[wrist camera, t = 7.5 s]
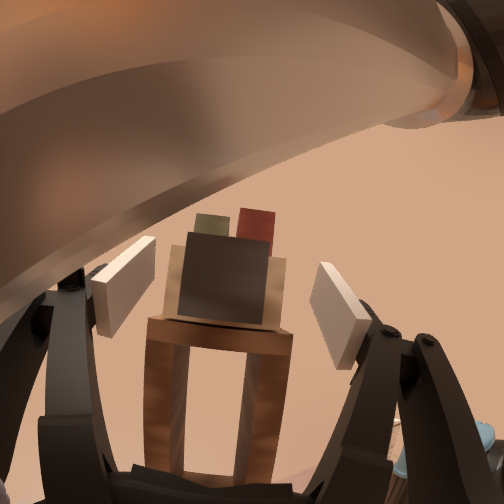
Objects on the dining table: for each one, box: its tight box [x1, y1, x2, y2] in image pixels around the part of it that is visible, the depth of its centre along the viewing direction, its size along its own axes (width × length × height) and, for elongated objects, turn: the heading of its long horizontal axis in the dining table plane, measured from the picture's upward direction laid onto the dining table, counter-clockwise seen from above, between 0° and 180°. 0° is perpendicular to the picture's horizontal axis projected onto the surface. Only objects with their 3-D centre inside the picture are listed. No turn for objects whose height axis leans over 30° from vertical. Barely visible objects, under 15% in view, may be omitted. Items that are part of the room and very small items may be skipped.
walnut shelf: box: [143, 314, 293, 488], centre depth 20 cm, size 10×10×35 cm
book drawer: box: [162, 208, 286, 331], centre depth 19 cm, size 8×19×10 cm, turn 6°
